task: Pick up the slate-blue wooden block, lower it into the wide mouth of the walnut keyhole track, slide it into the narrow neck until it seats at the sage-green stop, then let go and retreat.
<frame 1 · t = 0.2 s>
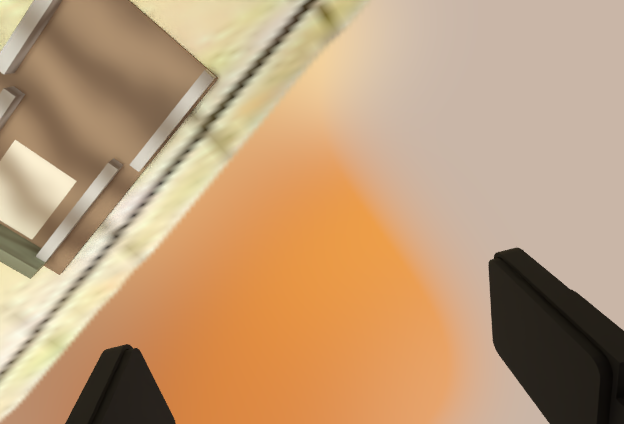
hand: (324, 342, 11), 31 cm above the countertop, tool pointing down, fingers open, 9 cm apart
keyhole track: (67, 134, 38), on the countertop
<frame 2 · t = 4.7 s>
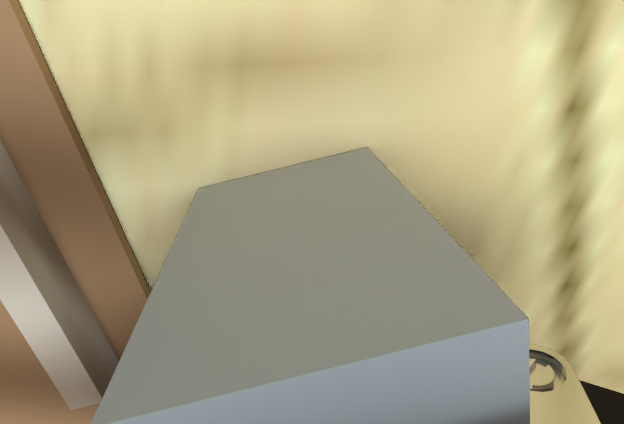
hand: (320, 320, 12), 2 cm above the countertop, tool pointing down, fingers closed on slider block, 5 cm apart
slider block: (312, 282, 13), on the countertop, touching gripper
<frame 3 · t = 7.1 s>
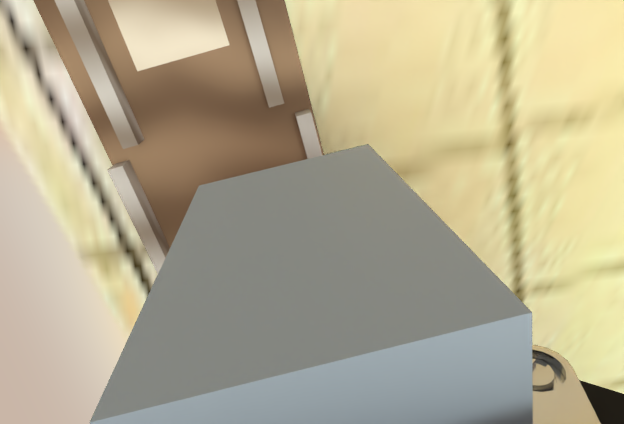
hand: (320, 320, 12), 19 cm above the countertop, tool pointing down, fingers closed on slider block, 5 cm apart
slider block: (313, 280, 13), point 17 cm above the countertop, touching gripper
keyhole track: (202, 106, 27), on the countertop
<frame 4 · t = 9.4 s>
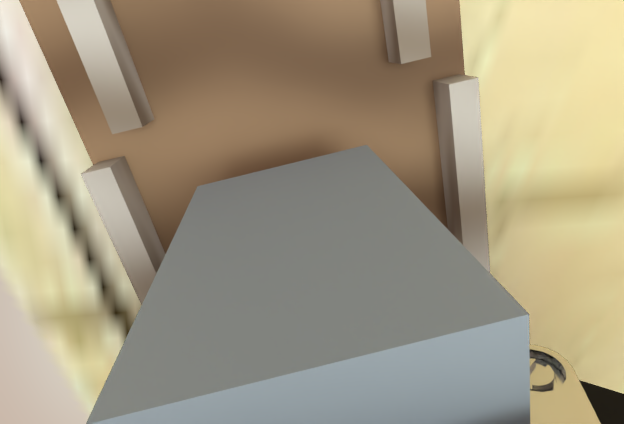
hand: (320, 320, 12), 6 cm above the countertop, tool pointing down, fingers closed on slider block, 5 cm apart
slider block: (312, 280, 13), point 4 cm above the countertop, touching gripper
keyhole track: (264, 61, 15), on the countertop
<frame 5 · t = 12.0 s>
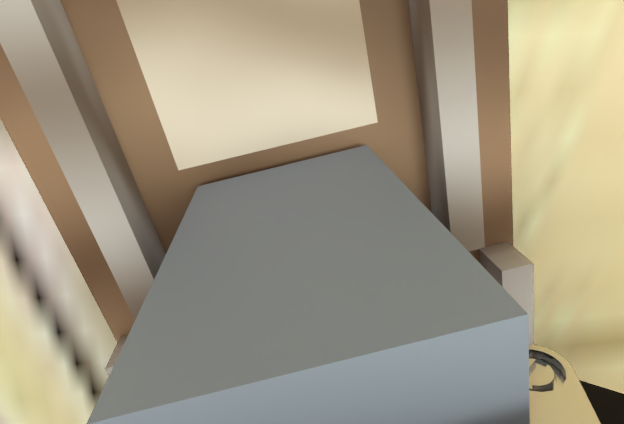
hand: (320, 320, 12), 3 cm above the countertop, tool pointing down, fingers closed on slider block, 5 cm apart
slider block: (312, 280, 13), point 1 cm above the countertop, touching gripper
keyhole track: (300, 232, 14), on the countertop
when the fingers open (3 cm above the countertop, at t = 14.3 s): slider block stays where it is, resting on keyhole track.
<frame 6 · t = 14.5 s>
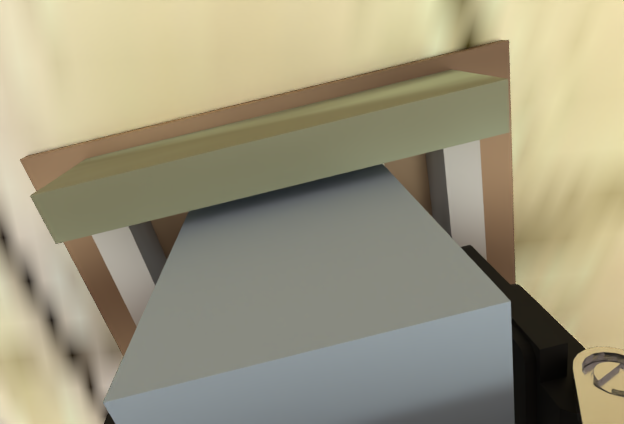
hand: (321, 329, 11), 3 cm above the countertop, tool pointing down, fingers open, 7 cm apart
slider block: (312, 276, 14), resting on keyhole track
keyhole track: (347, 414, 17), on the countertop
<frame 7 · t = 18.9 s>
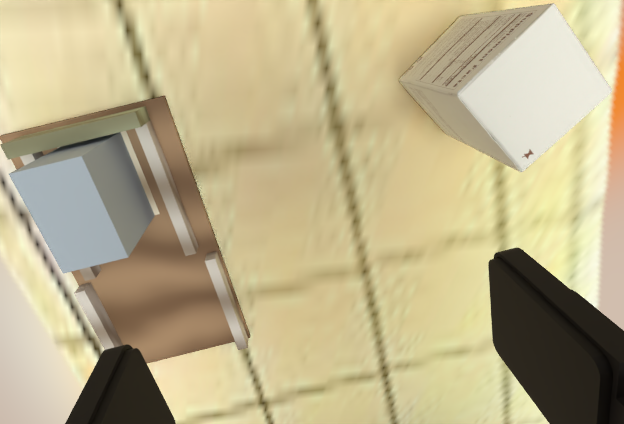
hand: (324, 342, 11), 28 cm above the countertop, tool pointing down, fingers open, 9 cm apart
supplement box: (451, 77, 37), on the countertop
slider block: (110, 182, 37), resting on keyhole track
keyhole track: (142, 248, 40), on the countertop
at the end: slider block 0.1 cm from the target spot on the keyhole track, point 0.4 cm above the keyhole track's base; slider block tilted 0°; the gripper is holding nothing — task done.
